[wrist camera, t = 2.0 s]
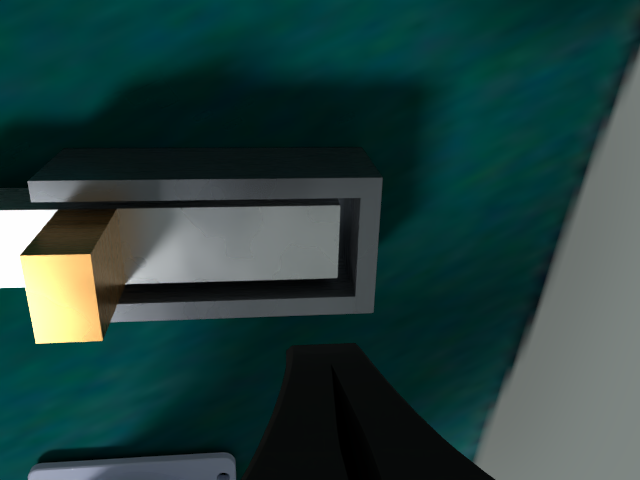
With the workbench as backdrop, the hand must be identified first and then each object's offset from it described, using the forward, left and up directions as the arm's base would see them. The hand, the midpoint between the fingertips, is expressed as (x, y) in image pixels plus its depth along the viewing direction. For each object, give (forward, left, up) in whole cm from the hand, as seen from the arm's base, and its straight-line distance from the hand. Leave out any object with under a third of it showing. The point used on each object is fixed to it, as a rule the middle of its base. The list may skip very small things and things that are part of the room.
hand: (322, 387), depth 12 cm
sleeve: (0, +3, -10) cm, 10 cm away
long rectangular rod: (0, +5, -9) cm, 10 cm away
